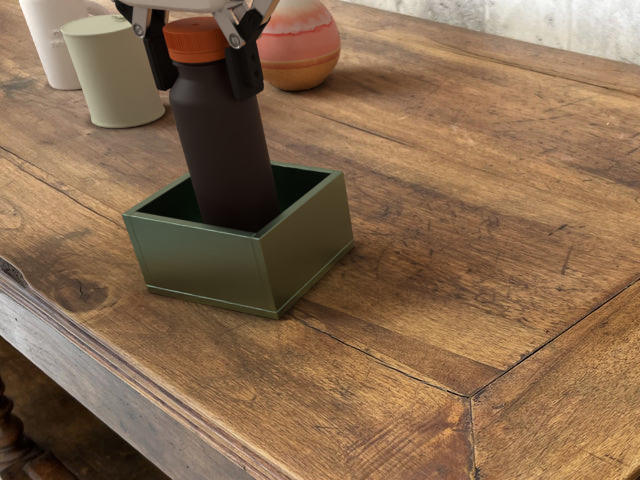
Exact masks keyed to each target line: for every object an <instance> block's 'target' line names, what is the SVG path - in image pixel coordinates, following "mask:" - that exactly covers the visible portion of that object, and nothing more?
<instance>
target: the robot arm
mask: <svg viewBox="0 0 640 480" xmlns="http://www.w3.org/2000/svg"><path fill="white" fill-rule="evenodd" d="M110 1H111V2H112V3H114V6H115V8H116V9H115V10H117V12H119V15H122V16H123V17H124V18H125V19H126V20H127V21H128V22H129V23H130V24H131V25H132V31H133V33H134V34H135V36H136V37H138V38H140V39H142V38H143V43H144V46H145V50H146V53H147V57H148V60H149V64H150V67H151V71H152V74H153V78H154V81H155V85H156V88H157V89H158V91H162V92H167V91H170V89H171V88H172V86H173V84H174V83H175V81H176V79H177V78H178V76H179V72H178V68H177V67H176V66H175V65H173V63H172V59H171V58H170V55H169V51H168V47H167V44H166V40H165V36H164V33H163V27H164V26H165V25H166V24H168V23H169V21H170V20H169V19H170V11H171V12H182V13H193V14H211V15H212V17H214V19H215V20H216V22H217V24H218V25H219V27H220V29H221V30H222V32H223V34H224V36H225V37H226V39H227V41H228V42H229V44H230V45H231V46H230V47H228V48H226V49H225V51H224V54H225V58H226V63H227V67H228V72H229V76H230V80H231V85H232V89H233V93H234V97H235V98H236V100H238V101H246V100H248V99H250V98H251V97H253V96H255V95H256V96H257V95H258V94H260V93H262V92H263V91H264V90H265V83H264V81H265V80H264V78H263V72H262V67H261V62H260V57H259V52H258V47H257V42H256V40H258V39H260V38H261V37H262V31H263V30H264V28H265V27H266V25H267V24H268V22H269V21H270V19H271V14H272V13H273V12H274V10H275V8H276V7H277V5H278V3H279V1H280V0H253V2H252V4H251V7H250V8H249V7H248V5H249V4H248V3H247V1H246V0H110ZM231 12H232V13H231ZM232 14H233V15H234V16H233V15H232ZM234 17H235V18H234ZM235 19H236V20H237V21H236V20H235ZM237 22H238V23H237Z"/></svg>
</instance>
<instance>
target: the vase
mask: <svg viewBox="0 0 640 480" xmlns="http://www.w3.org/2000/svg"><path fill="white" fill-rule="evenodd" d="M252 2H253V0H251V1H250V2H249V4H247V5H248V7H249V8H250V7H251V4H252ZM256 42H257V47H258V52H259V57H260V62H261V67H262V72H263V78H264V80H263V81H266V82H267V83H269V84H270V85H271V86H273V87H274V88H276V89H278V90H282V91H286V92H288V91H289V92H299V91H305V90H311V89H314V88H316V87H318V86H320V85H322V84H323V82H325V80H326V79H327V77H328V76H330V75H331V73H332V72H333V71H334V69H336V66H337V65H338V62H339V60H340V57H341V52H342V41H341V36H340V30H339V28H338V24H337V22H336V20H335V18H334V16H333V14H332V12H331V11H330V10H329V8H328V7H327V6H326V5H325V4H324V3H323V1H321V0H280V1H279V3H278V5H277V7H276V8H275V10H274V12H273V13H272V14H271V19H270V21H269V22H268V24H267V25H266V27H265V28H264V30H263V31H262V37H261V38H260V39H258V40H256Z"/></svg>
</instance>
